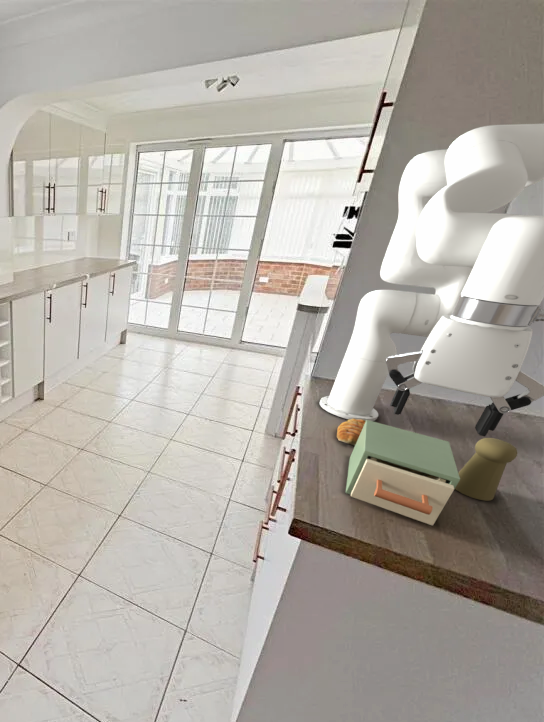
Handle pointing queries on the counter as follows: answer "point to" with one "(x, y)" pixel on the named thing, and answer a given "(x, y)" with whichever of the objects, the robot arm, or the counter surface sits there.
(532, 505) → the counter surface
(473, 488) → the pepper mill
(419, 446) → the cabinet
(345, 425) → the pastry
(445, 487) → the drawer
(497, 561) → the counter surface
